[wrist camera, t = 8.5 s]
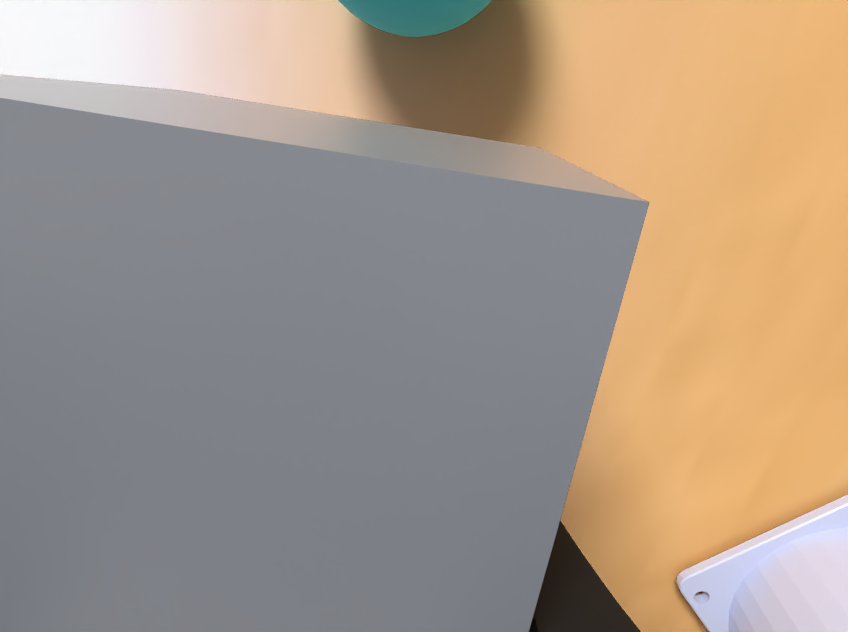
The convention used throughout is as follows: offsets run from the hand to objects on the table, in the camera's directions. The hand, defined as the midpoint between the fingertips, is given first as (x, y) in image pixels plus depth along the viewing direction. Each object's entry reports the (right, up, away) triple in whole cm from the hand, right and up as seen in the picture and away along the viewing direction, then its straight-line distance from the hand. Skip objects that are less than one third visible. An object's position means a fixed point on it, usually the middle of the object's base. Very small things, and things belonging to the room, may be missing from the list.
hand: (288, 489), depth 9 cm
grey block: (0, +1, +2) cm, 2 cm away
